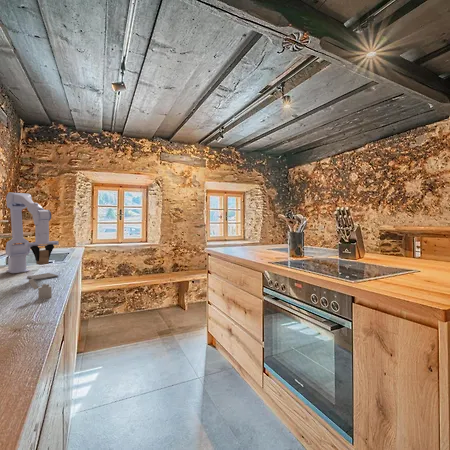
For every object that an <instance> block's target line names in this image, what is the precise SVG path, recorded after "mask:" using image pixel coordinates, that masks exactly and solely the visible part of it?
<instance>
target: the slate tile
mask: <svg viewBox="0 0 450 450" xmlns="http://www.w3.org/2000/svg"><path fill="white" fill-rule="evenodd" d="M58 277H59V275H58V274H54V273H51V272H47V273H40V274H33V275H28V276H26V278H27V279H28V280H30V279H32V278H33V279H34V280H35V282H37V281H42V280H48V279H54V278H58Z"/></svg>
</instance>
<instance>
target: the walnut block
mask: <svg viewBox="0 0 450 450" xmlns="http://www.w3.org/2000/svg"><path fill="white" fill-rule="evenodd" d="M35 261H36V260H35ZM49 261H50V258H49V250H45V249H40V250H39V261H36V262H35V263H36V265H39V266H43V265H49V263H50V262H49Z"/></svg>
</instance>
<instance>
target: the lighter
mask: <svg viewBox="0 0 450 450" xmlns="http://www.w3.org/2000/svg"><path fill="white" fill-rule="evenodd" d="M28 283H30V285H31V286H32V288H33V290H34V291H35V290H37V289H38V292H37V293H38V300H41V299H42V300H43V298H44V299H49V298H50V299H51V298H52V297H53V296H52V295H53V293H52V285H50V284H49V283H43V284H41V286H39V285H38V284H37V281H35V280H34V279H33V278H32V279H28Z"/></svg>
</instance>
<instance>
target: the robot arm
mask: <svg viewBox="0 0 450 450" xmlns="http://www.w3.org/2000/svg"><path fill="white" fill-rule="evenodd" d="M5 200H6V204H5V205H6V208H7V209H10V222H11V223H10V224H11V237H12V238H11V239H9V240H8V241H7V242H6V244H5V254H6V255H7V257H8V259H7V260H8V261H7V264H8V265H7V266H8V270H7V269H6V272H8V273H9V274H10V273H11V274H19V273H26V272H30V269H27V256H28V255H29V254H30V252H32V253H33V255H34V258H35V261H39V250H41V248H40V247H44V248H45V249H44V250H49V259H50V257H51V253H52V252H53V250H54V248H55V246H58V245H59V240H50V221H51V219H52V212H51V211H50V209H44V207H42V206H41V205H40V204H39V203H38V202H34V201H33V198H32V194H30V193H25V192H24V193H23V192H11V191H9V192H8V193H7V194H6V196H5ZM24 209H27V211H28V212H29V213H30V214H31V215H32V220H33V224H34V226H35V227H34V231H35V232H34V235H35V237H34V238H35V241H34V242H29V240H28V239H26V238H24V227H23V213H22V211H23V210H24Z"/></svg>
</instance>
